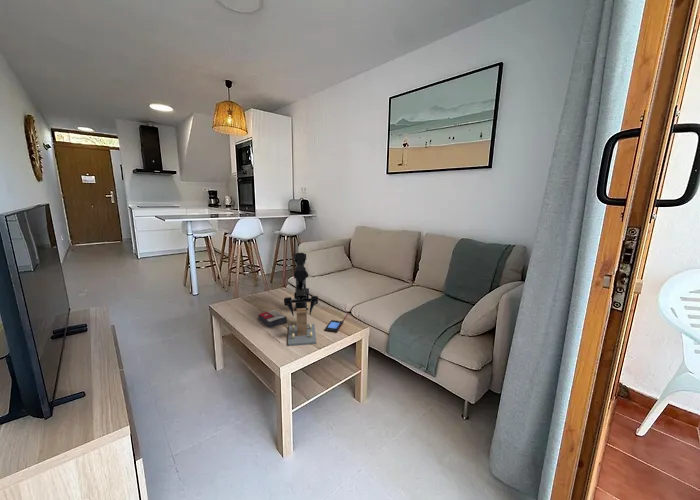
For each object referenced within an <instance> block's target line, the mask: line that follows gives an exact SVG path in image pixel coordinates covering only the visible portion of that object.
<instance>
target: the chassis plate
mask: <svg viewBox="0 0 700 500" xmlns="http://www.w3.org/2000/svg"><path fill="white" fill-rule="evenodd" d="M315 326H316V324H315V323H309V324H307V335H303V336H297V324H293V325H289V326H288V336H287V337H288V339H287V340H288V341H287V347H291V346H292V347H293V346H294V347H295V346H305V345H306V346H307V345H316V344H317V336H316V335H317V334H316V327H315Z"/></svg>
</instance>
